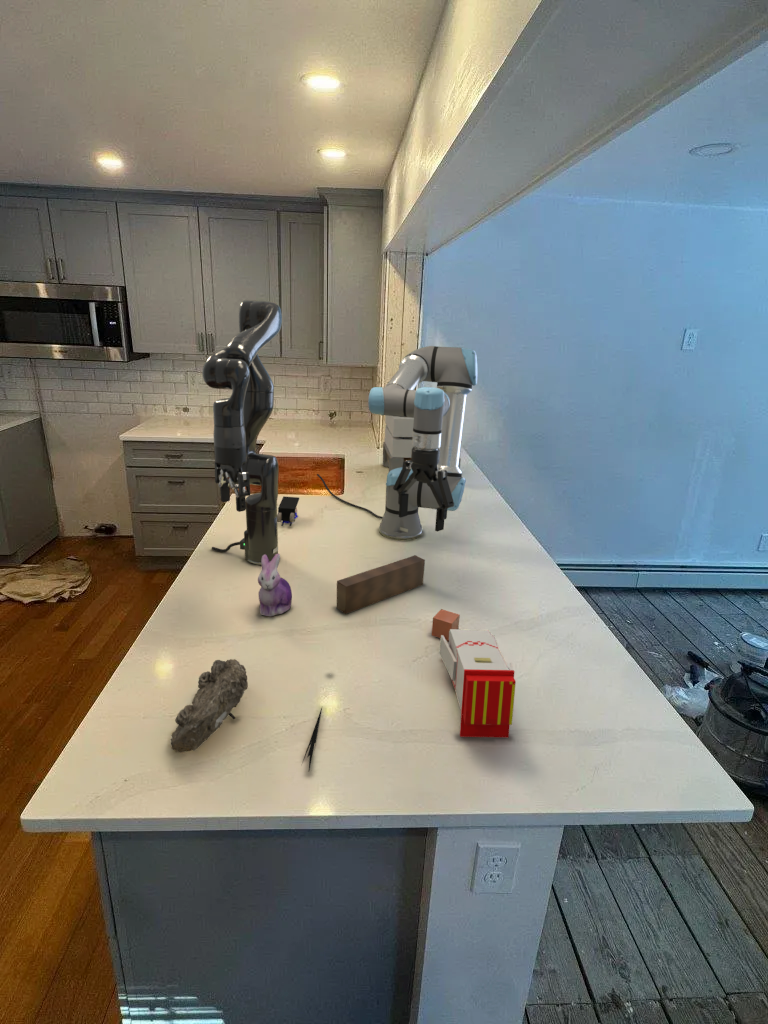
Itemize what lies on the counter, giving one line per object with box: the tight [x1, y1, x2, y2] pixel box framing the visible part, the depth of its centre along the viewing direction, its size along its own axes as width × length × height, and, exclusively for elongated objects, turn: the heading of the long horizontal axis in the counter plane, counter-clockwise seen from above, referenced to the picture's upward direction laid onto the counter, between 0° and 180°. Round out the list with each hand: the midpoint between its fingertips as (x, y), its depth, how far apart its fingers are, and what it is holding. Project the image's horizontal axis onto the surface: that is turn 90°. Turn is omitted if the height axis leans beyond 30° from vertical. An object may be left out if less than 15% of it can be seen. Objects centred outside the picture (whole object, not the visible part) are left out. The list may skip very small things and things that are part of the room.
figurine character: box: [277, 495, 300, 527], centre depth 205 cm, size 7×8×15 cm
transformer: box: [381, 415, 464, 473], centre depth 268 cm, size 34×33×41 cm
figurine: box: [257, 553, 293, 617], centre depth 145 cm, size 9×10×15 cm
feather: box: [301, 673, 332, 771], centre depth 108 cm, size 2×28×2 cm
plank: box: [336, 554, 426, 615], centre depth 155 cm, size 28×4×8 cm, turn 131°
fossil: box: [170, 658, 249, 753], centre depth 106 cm, size 22×10×15 cm
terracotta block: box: [431, 608, 461, 642], centre depth 139 cm, size 5×5×5 cm
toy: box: [438, 628, 517, 738], centre depth 117 cm, size 12×13×30 cm
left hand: (233, 506), depth 143 cm, fingers open, 8 cm apart
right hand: (420, 523), depth 157 cm, fingers open, 13 cm apart
